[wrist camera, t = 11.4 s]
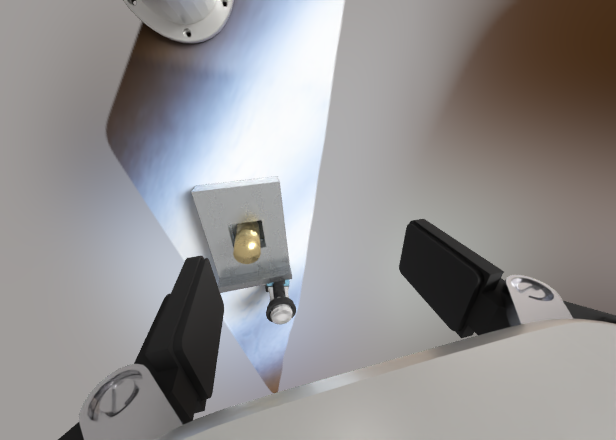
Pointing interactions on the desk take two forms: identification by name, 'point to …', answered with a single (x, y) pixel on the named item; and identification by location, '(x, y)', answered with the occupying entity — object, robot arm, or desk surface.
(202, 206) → the jig
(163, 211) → the desk surface
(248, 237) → the gold domed cylinder
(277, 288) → the push button
